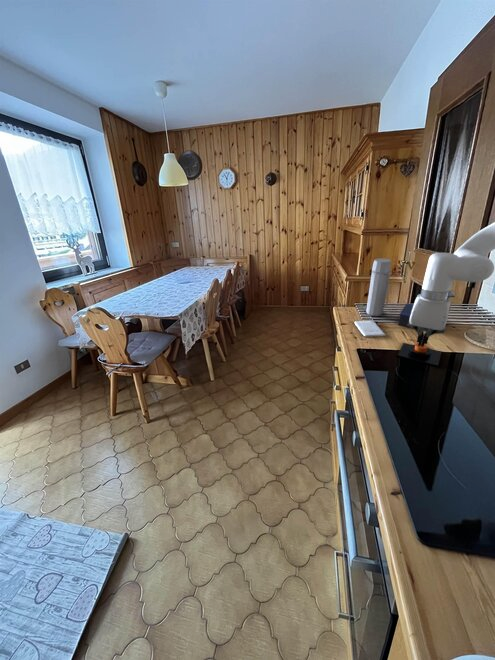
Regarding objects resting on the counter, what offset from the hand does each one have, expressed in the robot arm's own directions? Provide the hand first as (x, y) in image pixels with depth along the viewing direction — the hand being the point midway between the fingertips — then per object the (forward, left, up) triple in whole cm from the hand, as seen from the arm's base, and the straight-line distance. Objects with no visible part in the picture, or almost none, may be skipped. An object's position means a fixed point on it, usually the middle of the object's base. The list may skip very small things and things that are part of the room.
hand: (421, 344), depth 96 cm
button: (0, 0, -2) cm, 2 cm away
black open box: (+4, -29, -5) cm, 30 cm away
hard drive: (+20, -11, -5) cm, 23 cm away
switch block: (0, 0, -5) cm, 5 cm away
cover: (+4, -29, 0) cm, 29 cm away
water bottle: (+22, -29, -5) cm, 37 cm away
